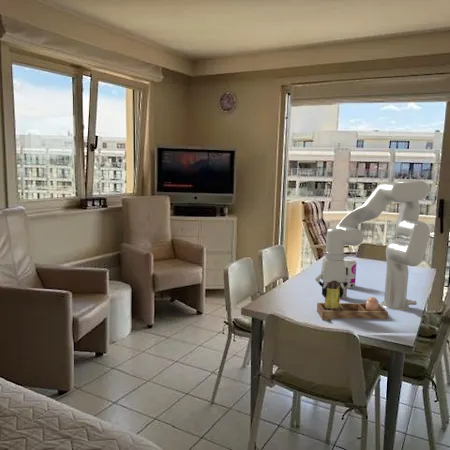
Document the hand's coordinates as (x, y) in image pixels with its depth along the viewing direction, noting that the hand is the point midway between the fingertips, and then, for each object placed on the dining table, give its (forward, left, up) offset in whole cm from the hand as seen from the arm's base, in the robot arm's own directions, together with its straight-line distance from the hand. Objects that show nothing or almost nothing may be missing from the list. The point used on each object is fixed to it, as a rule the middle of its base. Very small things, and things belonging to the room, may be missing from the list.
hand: (332, 296), depth 190 cm
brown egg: (-18, 0, -8) cm, 20 cm away
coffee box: (-9, -26, -9) cm, 29 cm away
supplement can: (-20, -45, -9) cm, 50 cm away
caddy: (-9, 0, -9) cm, 13 cm away
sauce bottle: (0, 0, -7) cm, 7 cm away
